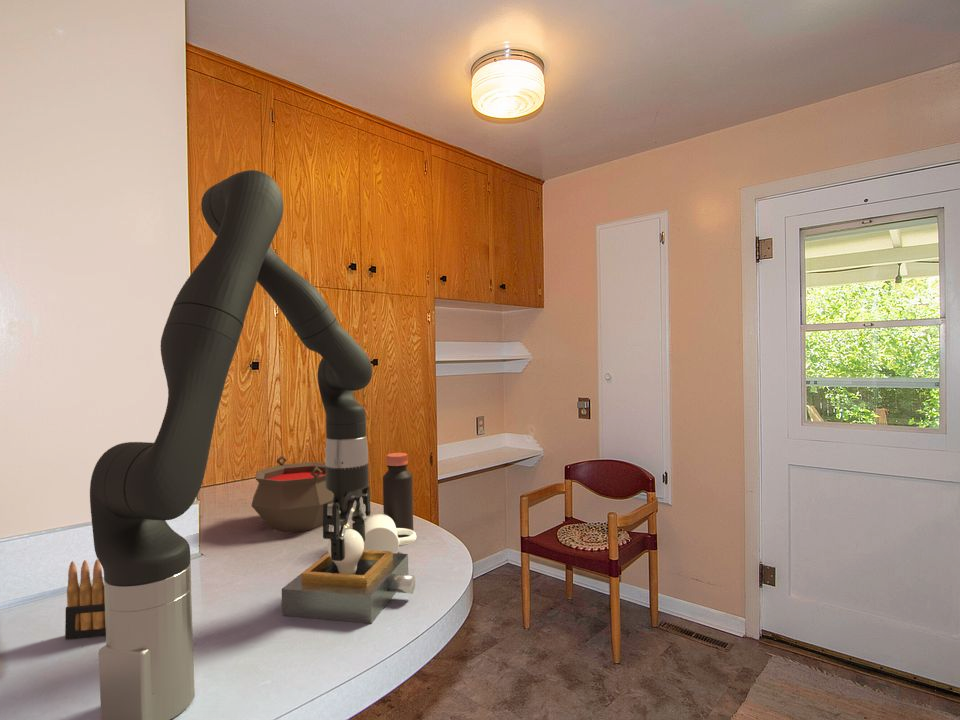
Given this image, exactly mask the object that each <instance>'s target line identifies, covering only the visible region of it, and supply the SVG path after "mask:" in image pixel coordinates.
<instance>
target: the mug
mask: <svg viewBox="0 0 960 720" xmlns="http://www.w3.org/2000/svg"><path fill="white" fill-rule="evenodd" d="M364 523H365V542H364V550H374V551H390V552H393V553H398V552H399V549H400V546H403V545H404V546H405V545H408V544H412V543H413V542H415V541H416V539H417V533H416V531H414V529H413V530H410V529H405V528H396V526H395V523H394V521H393V520H392V518H390V517H389V516H388V515H386V514H384V513H381V512H379V513H373V514H370V516H367V520H366V522H364ZM398 535H410V536H408V537H402V538H398Z"/></svg>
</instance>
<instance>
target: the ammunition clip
mask: <svg viewBox="0 0 960 720" xmlns="http://www.w3.org/2000/svg"><path fill="white" fill-rule="evenodd" d="M67 572H68V574H67V589H66V604H67V605H66V607H65V622H64V623H65V626H64V627H65V629H64V633H65V634H64V640H65V641H68V640H69V641H70V640H79V639H90V638H102V637H106V623H105V591H104V576H103V568H102V565H101V563H100V562H99V560H98V558H97V559H96V560H95V562H94V564H93V569H92V580H91V574H90V566H89V564H88V562H87V560H83V562H82V564H81V568H80V581H79V578H78V569H77V565H76V564H75V561H73V560H72V561H70V564H69V567H68V570H67ZM79 582H80V583H79Z"/></svg>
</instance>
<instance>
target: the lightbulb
mask: <svg viewBox="0 0 960 720" xmlns="http://www.w3.org/2000/svg"><path fill="white" fill-rule="evenodd" d="M339 532H340V529H339ZM344 544H345V558H344V559H343V560H342V561H334V560H332V561H333V562H334V563H335V564H336V566H337V568H338V572H339V574H351V575H356V574H355V572H356V570H357V564H358V561H359V560H360V558H361V556H362V554H363V551H364V540H363V538H362V536H361V535H360V534H359V533H358V532H357V531H355V530H353V528H346V531H345V535H344ZM327 551H328V552H327V553H329V556H330V558H331V540H330V539H329V542H328V545H327Z"/></svg>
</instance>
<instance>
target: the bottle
mask: <svg viewBox="0 0 960 720" xmlns="http://www.w3.org/2000/svg"><path fill="white" fill-rule="evenodd" d="M385 458H386V468H387V471H386V472H385V473H384V475H383V476H382V498H383V499H382V504H383V508H382V509H383V514H386V515H388V516H389V517H390V518H392V520H393V521H394V523H395V526H396V528H405V529H410V530H413V531H414V505H413V504H414V499H413V497H414V495H413V475H412V474H411V473H410V471H409V470H408V469H407V467H408V464H409V457H408V453H406V452H392V453H388V454H386V456H385ZM408 536H410V535H398V538H402V537H408Z"/></svg>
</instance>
